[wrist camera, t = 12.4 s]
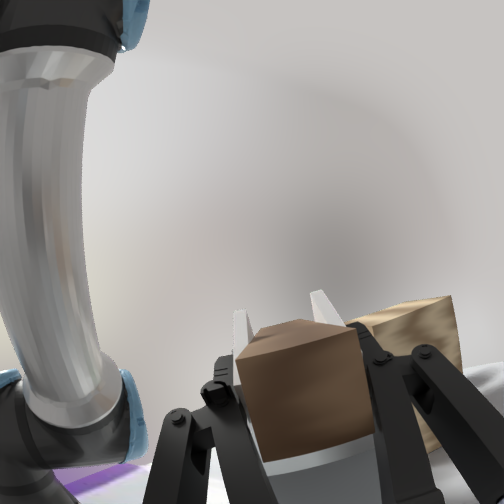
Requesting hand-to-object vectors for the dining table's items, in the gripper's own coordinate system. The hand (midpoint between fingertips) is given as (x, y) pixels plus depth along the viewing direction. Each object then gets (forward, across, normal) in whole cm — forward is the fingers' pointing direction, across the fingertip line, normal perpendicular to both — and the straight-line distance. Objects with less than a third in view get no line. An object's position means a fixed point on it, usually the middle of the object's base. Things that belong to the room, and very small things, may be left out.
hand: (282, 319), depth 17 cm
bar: (-1, 0, +5) cm, 5 cm away
